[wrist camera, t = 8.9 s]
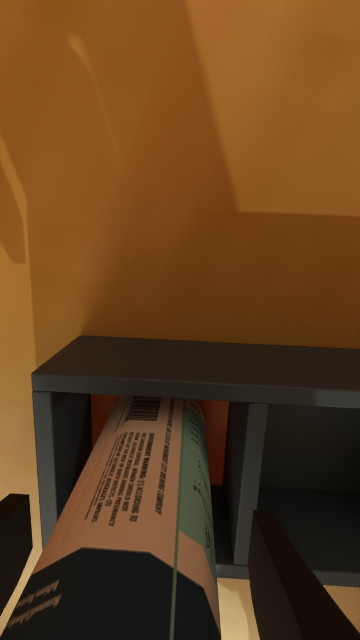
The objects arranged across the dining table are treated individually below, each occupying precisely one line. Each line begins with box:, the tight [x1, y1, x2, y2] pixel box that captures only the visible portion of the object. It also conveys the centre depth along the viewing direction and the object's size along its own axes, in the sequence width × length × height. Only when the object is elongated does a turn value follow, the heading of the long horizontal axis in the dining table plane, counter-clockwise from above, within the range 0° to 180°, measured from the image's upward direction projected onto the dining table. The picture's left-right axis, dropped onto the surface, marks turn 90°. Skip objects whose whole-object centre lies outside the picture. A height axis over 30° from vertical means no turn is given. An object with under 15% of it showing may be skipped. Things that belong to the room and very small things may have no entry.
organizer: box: [31, 336, 360, 588], centre depth 14 cm, size 8×16×5 cm, turn 88°
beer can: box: [0, 395, 221, 640], centre depth 10 cm, size 5×5×12 cm
